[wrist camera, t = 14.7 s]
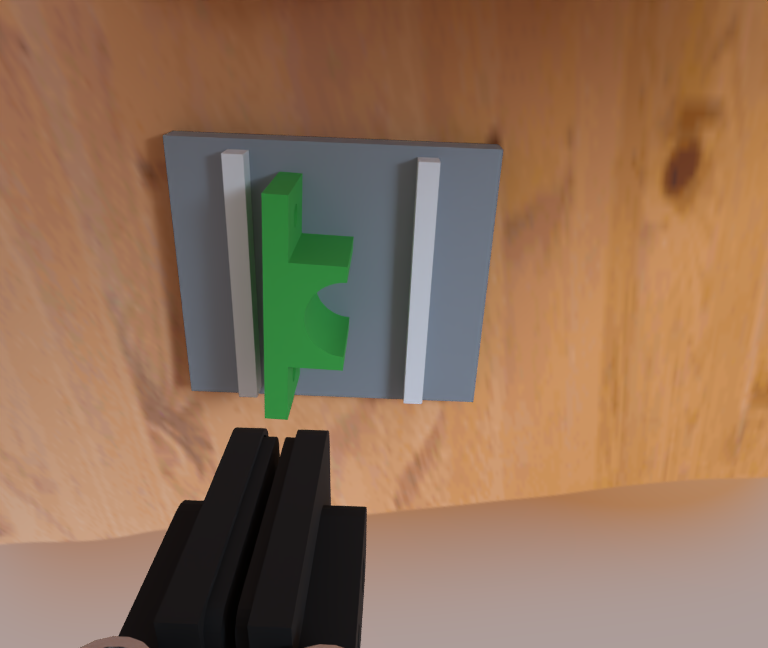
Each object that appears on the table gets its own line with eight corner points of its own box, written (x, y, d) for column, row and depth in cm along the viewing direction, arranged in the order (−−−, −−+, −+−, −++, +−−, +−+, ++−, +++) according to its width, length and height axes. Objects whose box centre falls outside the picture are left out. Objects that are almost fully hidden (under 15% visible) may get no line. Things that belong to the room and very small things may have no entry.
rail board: (498, 144, 30) (507, 154, 28) (470, 388, 36) (475, 413, 34) (173, 130, 30) (153, 139, 28) (199, 377, 36) (184, 402, 34)
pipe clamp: (346, 376, 34) (340, 424, 30) (280, 371, 34) (264, 419, 30) (356, 176, 29) (351, 200, 25) (279, 170, 29) (260, 194, 25)
